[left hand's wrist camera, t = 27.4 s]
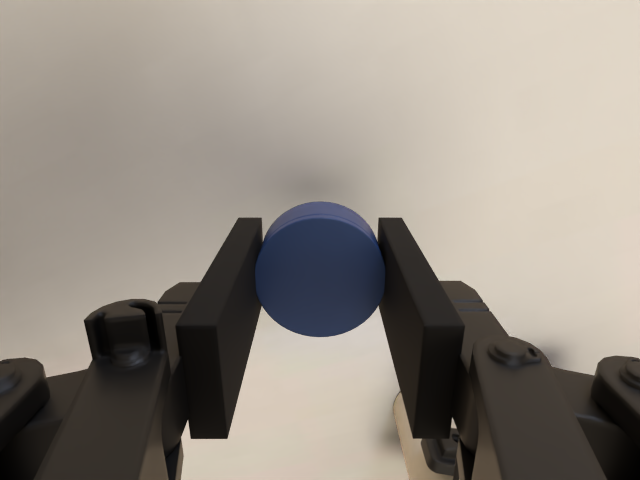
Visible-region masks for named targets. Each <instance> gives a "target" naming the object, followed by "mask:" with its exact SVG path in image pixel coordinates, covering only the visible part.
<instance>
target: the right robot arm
mask: <svg viewBox="0 0 640 480" xmlns="http://www.w3.org/2000/svg"><path fill="white" fill-rule="evenodd" d="M458 441H459V433H458V430H457V429H456V428H451V431H450V438H449V439H422V440H421V447H422V451H423V454H424V458H425V461H426V464H427V466H428V468H429V469H430V470H431V471H433V472H435V473H438V474H444V475H451V476H453V475H454V468H455V461H456V455H457V448H458Z"/></svg>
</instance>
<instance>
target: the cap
mask: <svg viewBox="0 0 640 480" xmlns="http://www.w3.org/2000/svg"><path fill="white" fill-rule="evenodd" d="M255 281H256V294H257V296H258V299H259V301H260V303H261V305H262V306H263V308H264V309H265V311H266V312H267V313H268V315H269V316H270V317H271V318H272V319H273V320H274V321H276V322H277V323H278V324H280V325H281V326H283V327H284V328H286V329H288V330H290V331H293V332H295V333H298V334H301V335H306V336H312V337H329V336H335V335H339V334H343V333H345V332H348V331H350V330H352V329H354V328H356V327H358V326H359V325H360V324H362V323H363V322H365V321H366V320H367V319H368V318H369V317H370V316H371V315H372V314H373V312H374V311H375V310H376V308H377V307H378V305H379V304H380V302H381V299H382V297H383V294H384V286H385V263H384V260H383V257H382V254H381V251H380V248H379V245H378V242H377V240H376V237H375V235H374V233H373V231H372V229H371V228H370V226H369V225H368V224H367V222H366V221H365V220H364V219H363V218H362V217H361V216H360V215H358V214H357V213H355V212H354V211H353V210H351V209H349V208H347V207H345V206H342V205H339V204H335V203H331V202H310V203H305V204H301V205H298V206H296V207H294V208H291V209H290V210H288V211H286V212H285V213H283V214H282V215H281V216H280V217H278V218H277V219H276V221H275V222H274V223H273V224H272V225H271V227H270V228H269V230H268V231H267V233H266V235H265V238H264V241H263V243H262V246H261V249H260V252H259V255H258V258H257V261H256V264H255Z"/></svg>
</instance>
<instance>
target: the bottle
mask: <svg viewBox="0 0 640 480" xmlns="http://www.w3.org/2000/svg"><path fill="white" fill-rule="evenodd" d="M393 412H394V417H395V421H396V426H397V430H398V434H399V438H400V443H401V447H402V451H403V456H404V460H405V464H406V468H407V473H408V477H409V480H453V476H451V475H444V474H438V473H435V472H433V471H431V470H430V469H429V468H428V466H427V464H426V461H425V458H424V454H423V451H422V447H421V440H422V439H413V437H412V433H411V429H410V425H409V422H408V418H407V414H406V410H405V406H404V402H403V398H402V394H401V392H400V393H399V394H398V396H397V398H396V399H395V402H394V407H393ZM451 428H456V425H455V423H454V420H453V417H452V423H451ZM456 429H457V428H456Z"/></svg>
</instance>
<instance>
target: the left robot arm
mask: <svg viewBox="0 0 640 480" xmlns="http://www.w3.org/2000/svg"><path fill="white" fill-rule="evenodd" d="M262 243H263V236H262V218H238V220H237V221H236V223H235V225H234V226H233V228H232V230H231V232H230V233H229V235H228V237H227V238H226V240H225V242H224V243H223V245H222V247H221V249H220V250H219V252H218V254H217V255H216V257H215V259H214V260H213V262H212V264H211V266H210V267H209V269H208V271H207V272H206V274H205V276H204V277H203V279H202V281H201V282H180V283H178V284H176V285H175V286H173V287H172V288H170V289H169V290H167V291H165V293H164V294H163V296H162V297H161V298H160V300H159V301H158V304H157V303H156V302H154V301H150V300H146V299H130V300H124V301H118V302H114V303H111V304H108V305H106V306H103V307H101V308H99V309H97V310H96V311H94V312H92V313H91V314H90V315H89V316H88V317H87V318H86V319H85V320H84V323H85V328H86V332H87V337H88V341H89V345H90V350H91V354H92V359H93V360H92V362H91V364H90V366H89V368H88V369H85V370H81V371H77V372H72V373H67V374H62V375H57V376H52V377H47V378H46V375H45V371H44V367H43V365H42V364H41V363H40V362H39V361H38V360H35V359H30V358H16V359H6V360H2V361H1V362H0V480H181V472H182V464H183V448H182V442H181V436H182V433H183V431H184V428H185V425H186V423H187V420H188V421H189V428H190V436H191V439H227V438H228V434H229V430H230V427H231V423H232V419H233V415H234V411H235V407H236V403H237V399H238V395H239V392H240V388H241V384H242V380H243V376H244V372H245V368H246V364H247V361H248V357H249V353H250V349H251V345H252V341H253V337H254V333H255V330H256V326H257V322H258V318H259V314H260V310H261V306H262V305H261V303H260V301H259V299H258V296H257V294H256V281H255V264H256V261H257V258H258V255H259V252H260V249H261V246H262ZM378 245H379V248H380V251H381V254H382V257H383V260H384V263H385V286H384V294H383V297H382V299H381V302H380V304H379V309H380V313H381V317H382V321H383V325H384V328H385V332H386V336H387V340H388V344H389V348H390V352H391V356H392V359H393V363H394V367H395V371H396V375H397V379H398V383H399V387H400V390H401V394H402V398H403V402H404V406H405V410H406V414H407V418H408V422H409V425H410V429H411V433H412V437H413V439H449V438H450V431H451V423H452V417H453V420H454V423H455V425H456V428H457V430H458V433H459V441H458V448H457V455H456V461H455V468H454V475H453V480H640V359H639V358H635V357H625V356H611V357H606V358H603V359H602V360H601V361H600V362H599V363H598V365H597V369H596V372H595V376H593V375H588V374H583V373H578V372H573V371H568V370H563V369H559V368H555V367H551V365H550V363H549V361H548V359H547V358H546V356H545V355H544V354H543V353H542V352H541V350H539V349H538V348H536V347H535V346H533V345H532V344H530V343H528V342H525V341H523V340H520V339H518V338H515V337H510V336H509V335H508V334H507V333H506V331H505V330H504V329H503V327H502V326H501V325H500V323H499V322H498V321H497V319H496V318H495V316H494V315H493V314H492V312H491V311H489V308H488V307H487V306H486V304H485V303H483V300H482V299H481V297H480V296H479V295H478V293H477V292H476V291H475V290H474V289H473V288H471V287H469V286H468V285H466V284H465V283H463V282H461V281H439V280H438V279H437V277H436V275H435V273H434V272H433V270H432V268H431V267H430V265H429V263H428V262H427V260H426V258H425V257H424V255H423V253H422V251H421V250H420V248H419V246H418V245H417V243H416V241H415V240H414V238H413V236H412V234H411V233H410V231H409V229H408V228H407V226H406V224H405V223H404V221H403V219H402V218H379V222H378Z"/></svg>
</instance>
